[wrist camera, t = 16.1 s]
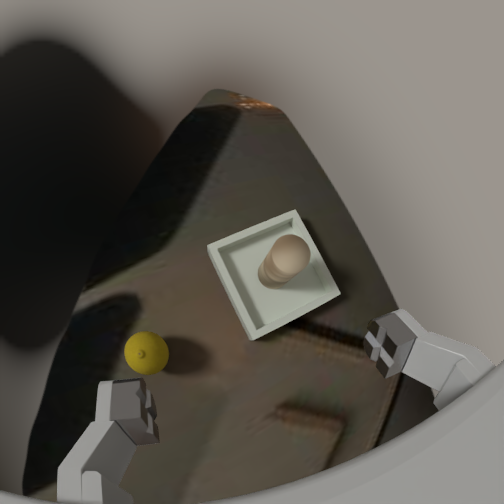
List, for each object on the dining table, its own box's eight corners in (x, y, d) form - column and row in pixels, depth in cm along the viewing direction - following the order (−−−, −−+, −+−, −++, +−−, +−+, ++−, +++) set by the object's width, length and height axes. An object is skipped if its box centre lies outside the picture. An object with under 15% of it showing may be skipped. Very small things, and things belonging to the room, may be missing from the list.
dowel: (293, 281, 42) (317, 262, 33) (266, 294, 41) (283, 278, 32) (279, 254, 43) (299, 228, 34) (252, 266, 42) (265, 243, 33)
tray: (332, 297, 43) (340, 293, 41) (249, 340, 40) (253, 340, 37) (290, 217, 46) (295, 209, 44) (207, 251, 43) (207, 245, 40)
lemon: (167, 329, 39) (157, 326, 31) (176, 368, 37) (168, 374, 30) (130, 335, 38) (112, 333, 30) (138, 374, 36) (122, 380, 29)
